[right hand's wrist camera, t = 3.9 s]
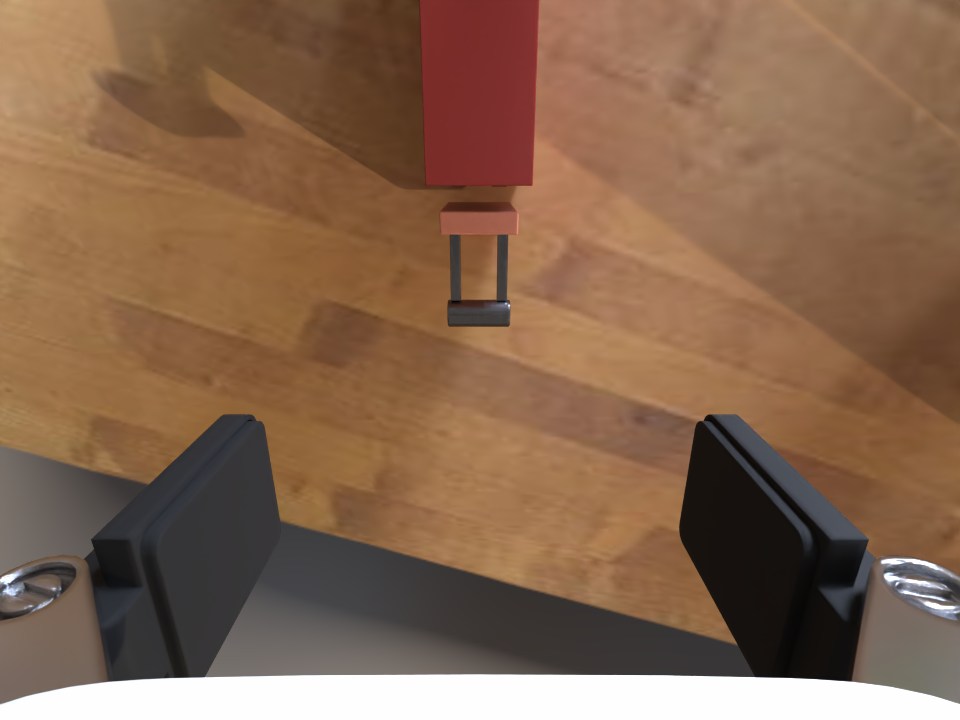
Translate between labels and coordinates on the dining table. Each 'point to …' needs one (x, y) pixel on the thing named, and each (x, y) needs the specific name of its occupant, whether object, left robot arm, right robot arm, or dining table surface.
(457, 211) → the drawer
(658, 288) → the dining table surface
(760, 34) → the dining table surface
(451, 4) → the cabinet
